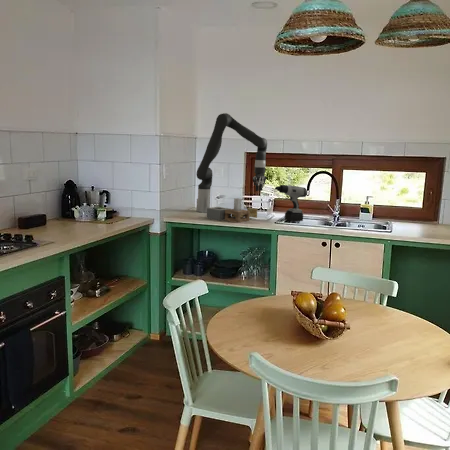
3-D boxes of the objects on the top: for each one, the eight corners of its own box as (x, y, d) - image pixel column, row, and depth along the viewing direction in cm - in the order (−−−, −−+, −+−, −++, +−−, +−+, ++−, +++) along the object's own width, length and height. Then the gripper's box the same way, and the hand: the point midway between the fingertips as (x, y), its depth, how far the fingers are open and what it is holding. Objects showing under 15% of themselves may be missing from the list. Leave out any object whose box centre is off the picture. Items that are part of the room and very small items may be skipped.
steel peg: (233, 220, 327) (234, 198, 325) (236, 219, 330) (237, 198, 327) (237, 221, 325) (238, 199, 322) (240, 220, 328) (241, 198, 325)
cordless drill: (271, 219, 336) (273, 184, 332) (300, 218, 346) (302, 184, 342) (276, 221, 329) (279, 185, 325) (306, 220, 340) (309, 185, 335)
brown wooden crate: (248, 216, 343) (248, 207, 342) (257, 217, 338) (257, 209, 337) (230, 218, 328) (231, 209, 327) (239, 220, 323) (240, 211, 322)
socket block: (235, 218, 336) (236, 208, 335) (249, 220, 328) (249, 210, 327) (224, 220, 327) (224, 209, 326) (238, 222, 319) (238, 212, 318)
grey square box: (206, 218, 332) (206, 208, 331) (218, 216, 341) (218, 206, 340) (219, 220, 324) (219, 210, 323) (231, 218, 333) (231, 208, 332)
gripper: (261, 166, 346) (260, 189, 349) (249, 166, 336) (248, 190, 338) (270, 166, 341) (269, 191, 344) (258, 167, 331) (257, 192, 334)
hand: (258, 190), depth 341 cm, fingers open, 3 cm apart
